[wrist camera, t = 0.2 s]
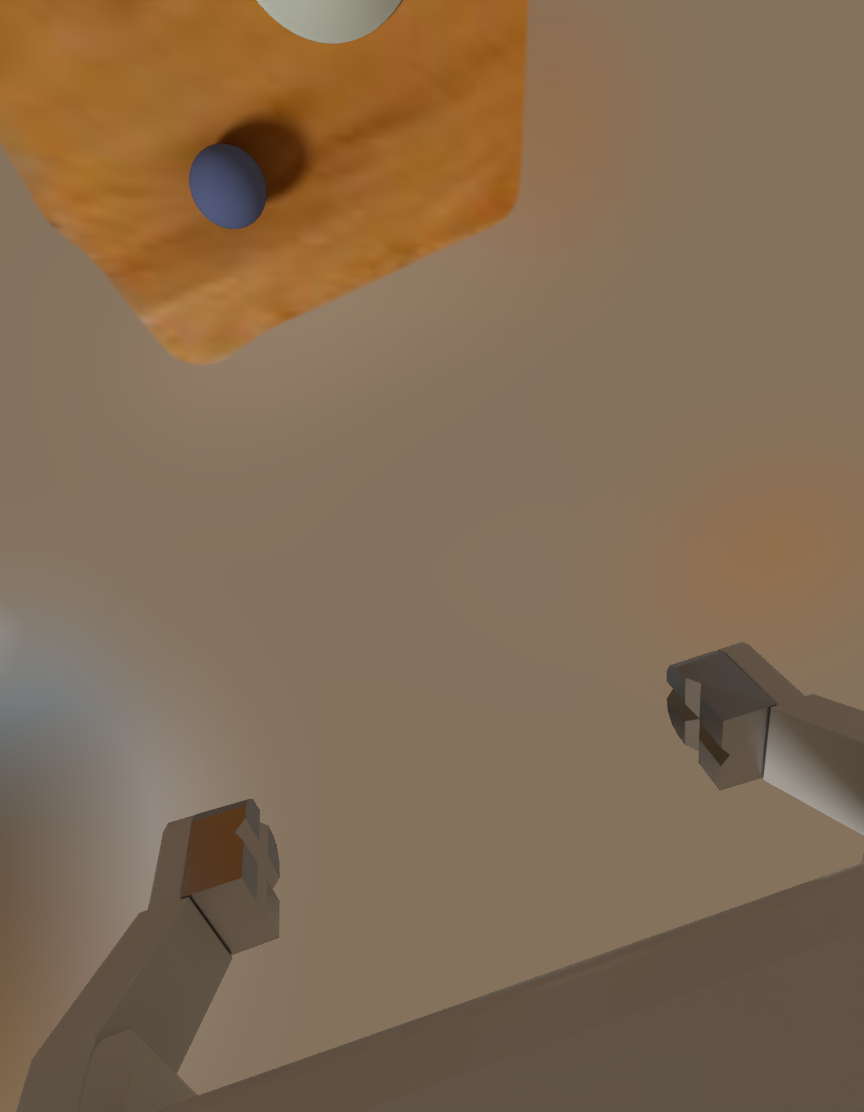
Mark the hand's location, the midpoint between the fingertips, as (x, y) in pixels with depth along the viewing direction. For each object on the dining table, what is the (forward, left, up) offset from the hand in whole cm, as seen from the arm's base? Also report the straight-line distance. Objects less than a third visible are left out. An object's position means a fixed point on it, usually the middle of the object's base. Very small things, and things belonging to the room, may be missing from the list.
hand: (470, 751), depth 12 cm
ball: (+6, 0, -49) cm, 49 cm away
